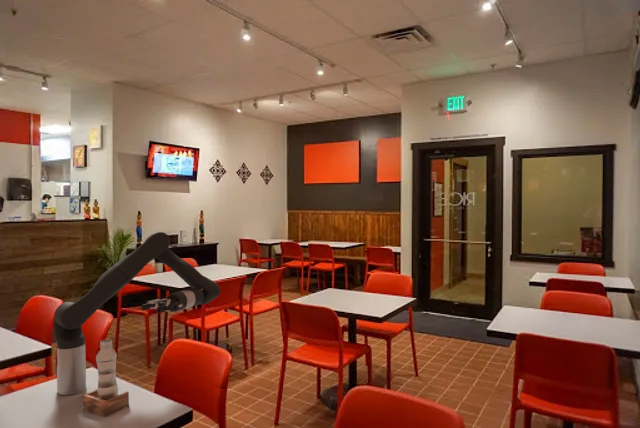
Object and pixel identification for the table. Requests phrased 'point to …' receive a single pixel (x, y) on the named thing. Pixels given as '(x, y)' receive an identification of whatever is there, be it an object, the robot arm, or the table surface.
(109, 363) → the plastic bottle
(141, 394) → the table surface
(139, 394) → the table surface
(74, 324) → the robot arm
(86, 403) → the dock
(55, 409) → the table surface
